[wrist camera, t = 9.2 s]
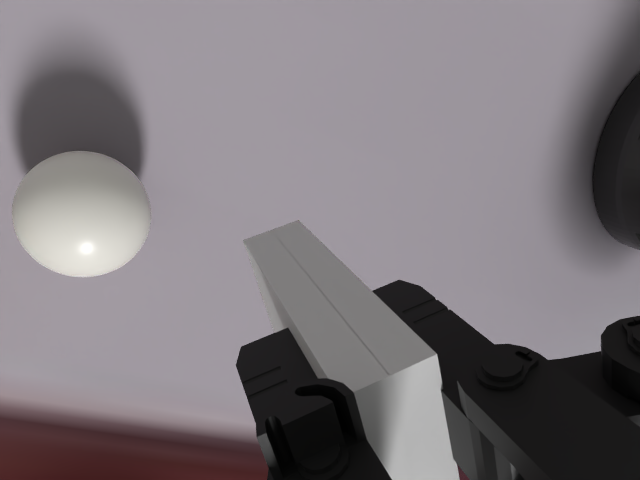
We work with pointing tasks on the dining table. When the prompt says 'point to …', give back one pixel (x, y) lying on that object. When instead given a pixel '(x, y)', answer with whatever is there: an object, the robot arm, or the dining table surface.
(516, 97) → the dining table surface
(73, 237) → the cue ball
